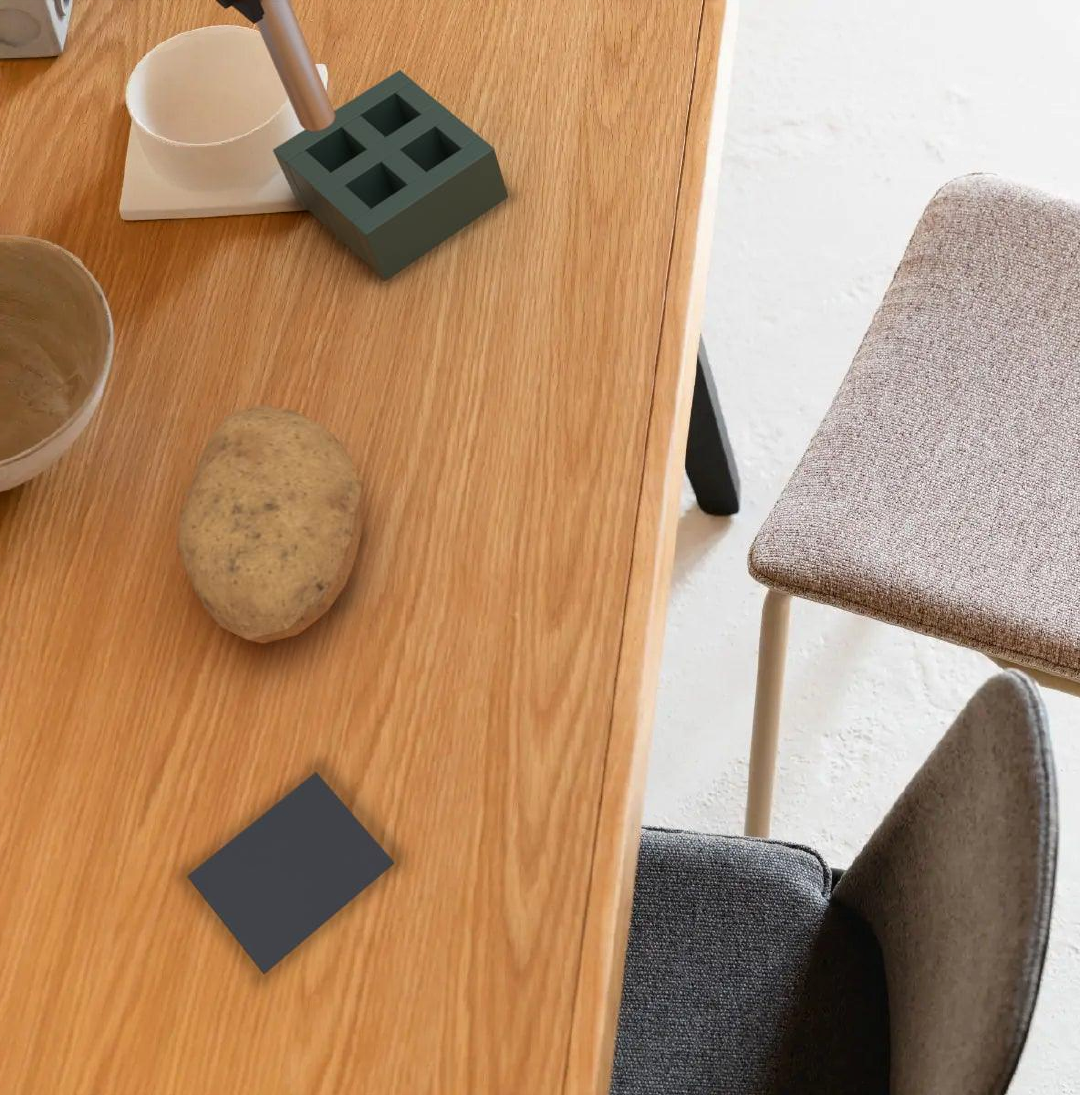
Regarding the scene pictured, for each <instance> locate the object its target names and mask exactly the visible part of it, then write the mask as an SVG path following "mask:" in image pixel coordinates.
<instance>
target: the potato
mask: <svg viewBox="0 0 1080 1095" xmlns="http://www.w3.org/2000/svg"><path fill="white" fill-rule="evenodd" d="M365 512H366V505H365V500H364V495H363V489H362V486H361V482H360V478H359V475H358V472H357V468H356V465H355V463H354V462H353V460H352V458H351V456H350V455H349V453H348V452H347V449H346V448H345V446H344V445H343V443H342V442H341V441H340V440H339V439H338V437H336V436H335V435H334V433H333V432H331V430H329V429H327V428H326V427H325V426H323V425H322V424H319V423H318V422H317V421H315V420H314V419H312V418H310V417H309V416H307V415H306V414H303V413H300V412H298V411H295V410H292V409H288V408H281V407H276V406H269V405H264V404H260V405H257V406H254V407H251V408H248V409H244V410H241V411H237V412H233V413H230V414H229V415H228V416H227V417H226V418H225V420H224V421H222V423H221V424H220V425H219V427H217V429H215V431H214V432H213V433H212V434H211V435H210V436H209V438H208V439H207V442H206V445H205V447H204V450H203V452H202V455H201V456H200V459H199V461H198V464H197V466H196V469H195V472H194V476H193V479H192V482H191V485H190V488H189V491H188V493H187V496H186V497H185V501H184V504H183V506H182V508H181V511H180V512H179V513H180V514H179V519H178V520H179V522H178V532H177V548H176V550H177V552H178V555H179V557H180V559H181V562H182V564H183V567H184V570H185V571H186V574H187V576H188V578H189V580H190V583H191V585H192V588H193V590H194V592H195V594H196V596H197V597H198V599H199V601H200V602H201V604H202V606H203V608H204V609H205V610H206V612H207V613H208V614H209V615H210V616H211V618H212V619H213V620H214V622H215V623H216V624H217V625H218V627H219V628H222V629H224V630H226V631H228V632H230V633H232V634H234V635H236V636H238V637H240V638H242V639H244V640H247V641H251V642H256V643H259V644H266V643H270V642H271V643H272V642H274V641H278V640H283V639H287V638H290V637H294V636H298V635H300V634H301V633H302V632H303V631H305V630H306V629H307V628H309V627H310V626H311V625H312V624H315V622H316V621H318V620H319V619H320V618H322V617H323V616H324V614H326V613H327V612H328V611H329V610H330V608H331V607H332V606H333V604H334V602H335V601H336V599H338V597H339V595H340V594H341V592H342V591H343V590H344V589H345V587H346V585H347V583H348V580H349V578H350V575H351V573H352V570H353V566H354V564H355V562H356V558H357V554H358V549H359V545H360V541H361V537H362V531H363V526H364V517H365Z"/></svg>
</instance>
